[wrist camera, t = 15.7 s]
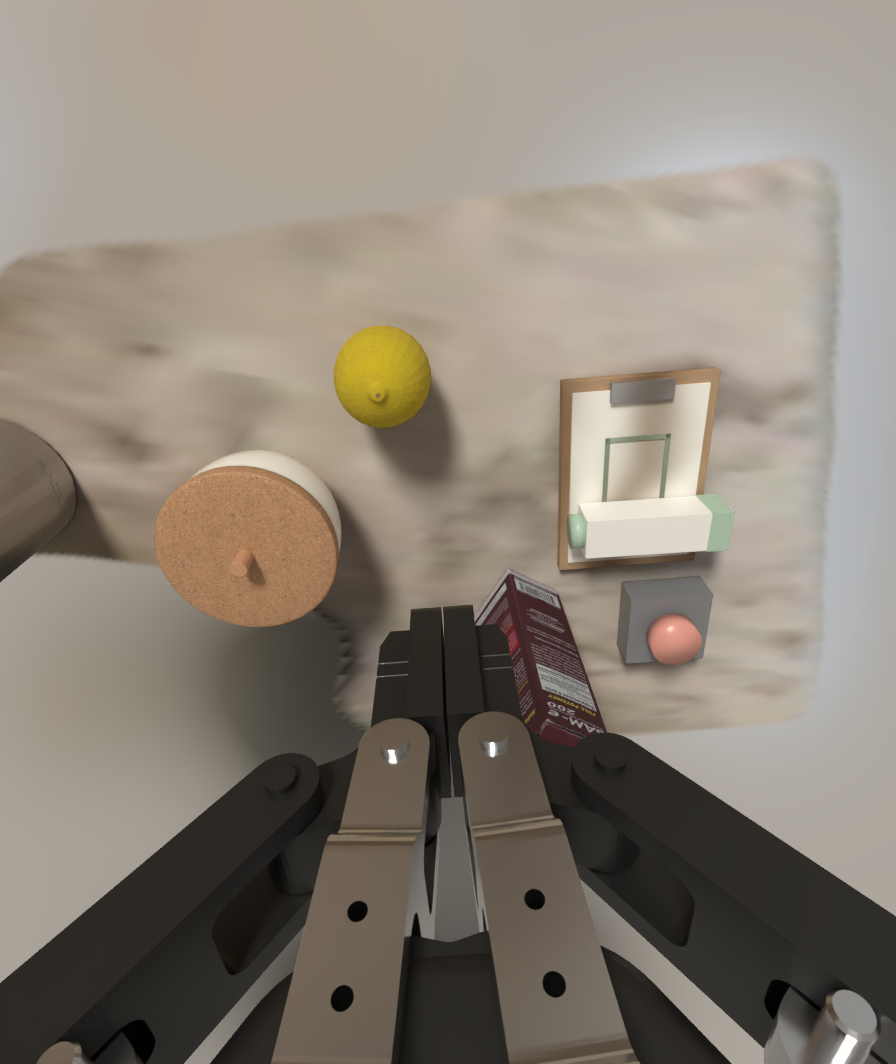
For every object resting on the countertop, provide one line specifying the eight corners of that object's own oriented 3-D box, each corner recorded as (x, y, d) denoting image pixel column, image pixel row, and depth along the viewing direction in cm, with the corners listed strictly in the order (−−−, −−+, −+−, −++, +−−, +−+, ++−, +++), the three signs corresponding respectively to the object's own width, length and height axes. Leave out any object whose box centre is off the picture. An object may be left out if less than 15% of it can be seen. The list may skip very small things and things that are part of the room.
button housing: (617, 643, 49) (625, 663, 47) (621, 581, 46) (631, 600, 44) (690, 638, 49) (702, 658, 46) (699, 576, 46) (713, 594, 44)
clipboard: (557, 564, 45) (560, 574, 44) (560, 379, 38) (564, 385, 37) (689, 554, 45) (697, 564, 44) (715, 367, 38) (724, 372, 37)
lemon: (369, 418, 39) (355, 461, 32) (327, 339, 37) (303, 367, 30) (445, 383, 38) (448, 421, 31) (407, 300, 36) (402, 320, 29)
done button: (643, 653, 46) (650, 666, 44) (648, 615, 44) (654, 627, 43) (691, 650, 46) (698, 663, 44) (696, 611, 44) (705, 624, 43)
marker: (573, 560, 40) (727, 550, 40) (575, 522, 39) (734, 511, 39) (565, 539, 43) (709, 530, 43) (566, 503, 41) (715, 493, 41)
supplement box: (504, 665, 50) (533, 842, 36) (453, 644, 48) (462, 818, 34) (561, 588, 46) (618, 750, 32) (508, 563, 45) (543, 720, 31)
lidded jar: (352, 432, 40) (331, 489, 32) (353, 568, 45) (335, 648, 37) (189, 422, 39) (124, 477, 31) (208, 562, 44) (156, 641, 36)
